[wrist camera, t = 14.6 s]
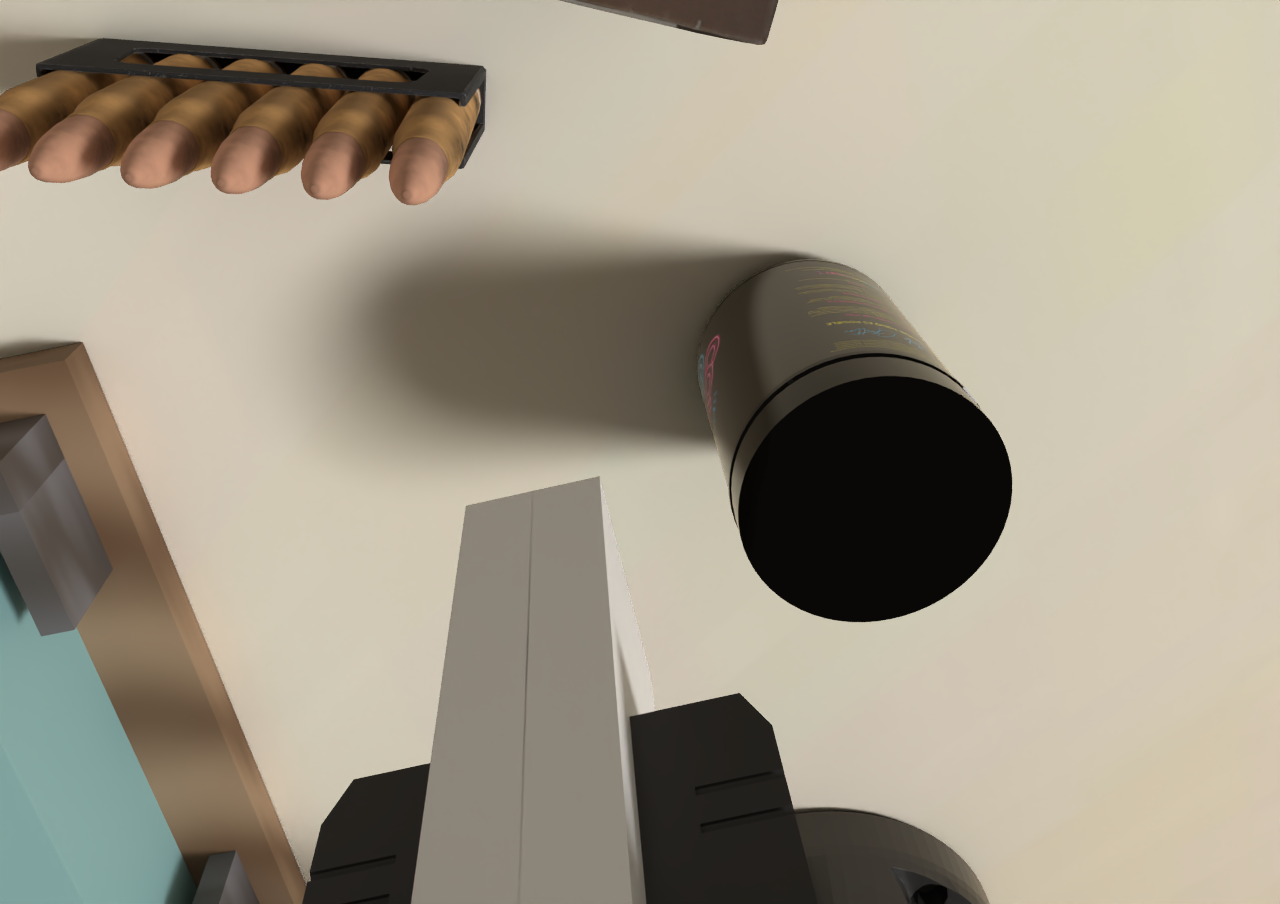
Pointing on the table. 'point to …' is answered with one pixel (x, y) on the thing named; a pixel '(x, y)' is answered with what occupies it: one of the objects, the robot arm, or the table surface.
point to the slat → (72, 780)
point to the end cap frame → (132, 622)
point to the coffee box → (699, 15)
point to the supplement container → (847, 445)
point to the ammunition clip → (243, 117)
